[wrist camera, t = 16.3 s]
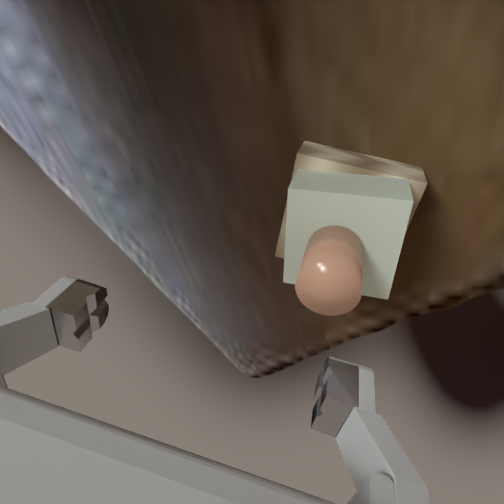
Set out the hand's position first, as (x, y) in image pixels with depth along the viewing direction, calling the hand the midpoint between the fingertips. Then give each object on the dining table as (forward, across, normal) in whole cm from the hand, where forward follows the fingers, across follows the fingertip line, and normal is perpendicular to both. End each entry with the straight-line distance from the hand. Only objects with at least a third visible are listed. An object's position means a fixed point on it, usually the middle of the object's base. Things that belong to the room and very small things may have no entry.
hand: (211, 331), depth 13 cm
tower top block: (+25, -6, +7) cm, 26 cm away
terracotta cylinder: (+20, -6, +8) cm, 22 cm away
